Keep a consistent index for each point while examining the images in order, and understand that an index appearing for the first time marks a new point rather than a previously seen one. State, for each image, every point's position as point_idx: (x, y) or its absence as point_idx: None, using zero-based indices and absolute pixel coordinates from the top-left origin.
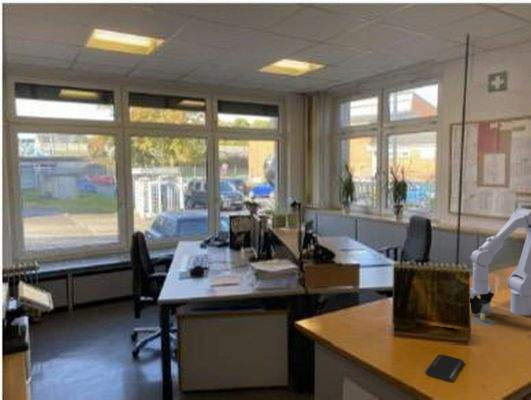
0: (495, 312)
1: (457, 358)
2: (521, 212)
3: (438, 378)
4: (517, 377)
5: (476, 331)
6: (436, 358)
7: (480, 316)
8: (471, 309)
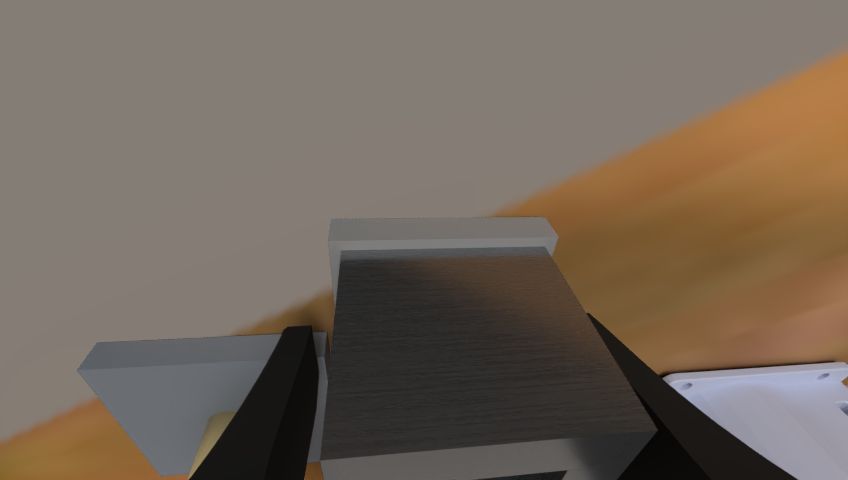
0: (667, 316)
1: None
2: None
3: None
4: None
5: (13, 449)
6: None
7: (192, 474)
8: (259, 379)
